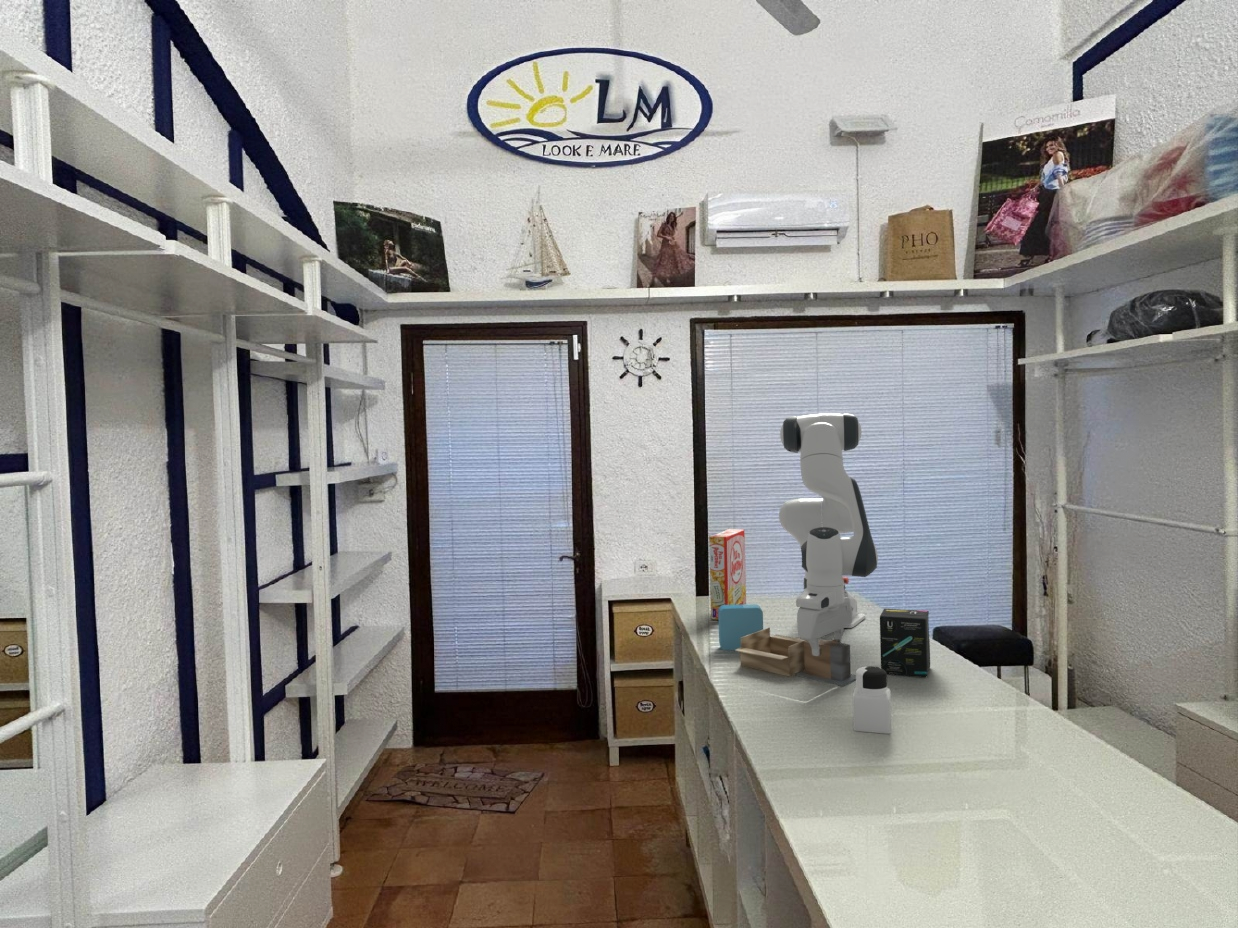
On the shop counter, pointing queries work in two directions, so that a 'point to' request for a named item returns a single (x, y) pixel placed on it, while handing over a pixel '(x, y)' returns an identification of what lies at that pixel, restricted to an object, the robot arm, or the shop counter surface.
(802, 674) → the mat
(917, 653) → the tampon box
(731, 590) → the popcorn box
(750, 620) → the blue rounded block
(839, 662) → the walnut box
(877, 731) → the medicine bottle
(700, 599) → the shop counter surface
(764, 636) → the carton
